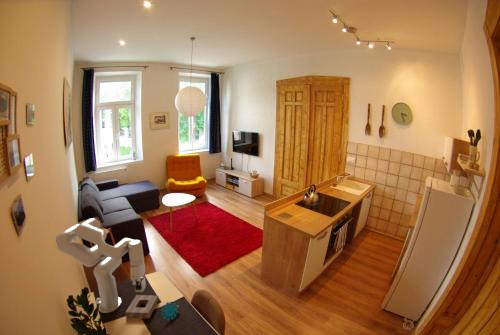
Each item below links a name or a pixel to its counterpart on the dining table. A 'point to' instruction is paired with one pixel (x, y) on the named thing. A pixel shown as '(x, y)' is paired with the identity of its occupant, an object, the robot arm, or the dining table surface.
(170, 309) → the gear
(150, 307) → the bore block
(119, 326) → the dining table surface
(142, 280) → the peg
